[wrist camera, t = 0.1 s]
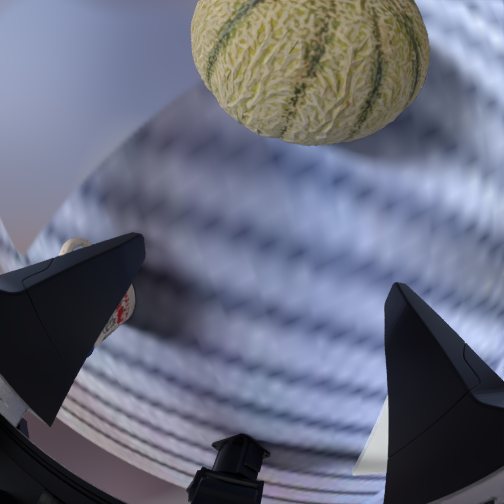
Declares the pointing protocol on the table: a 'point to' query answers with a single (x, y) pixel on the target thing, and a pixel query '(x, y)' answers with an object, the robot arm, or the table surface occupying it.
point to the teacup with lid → (123, 308)
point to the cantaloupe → (311, 64)
